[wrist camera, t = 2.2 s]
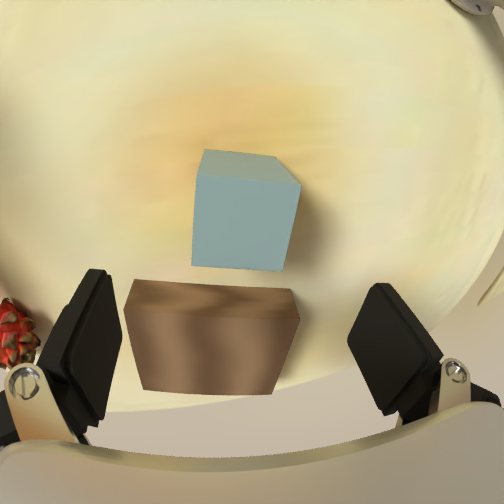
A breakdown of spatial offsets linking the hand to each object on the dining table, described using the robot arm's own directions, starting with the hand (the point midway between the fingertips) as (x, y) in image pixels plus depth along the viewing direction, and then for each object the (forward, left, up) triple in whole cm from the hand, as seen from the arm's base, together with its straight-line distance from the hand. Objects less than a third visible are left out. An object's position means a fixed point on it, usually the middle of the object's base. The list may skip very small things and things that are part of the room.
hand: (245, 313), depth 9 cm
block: (0, -1, -13) cm, 13 cm away
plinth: (+1, +14, -13) cm, 19 cm away
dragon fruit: (+26, +16, -13) cm, 33 cm away
